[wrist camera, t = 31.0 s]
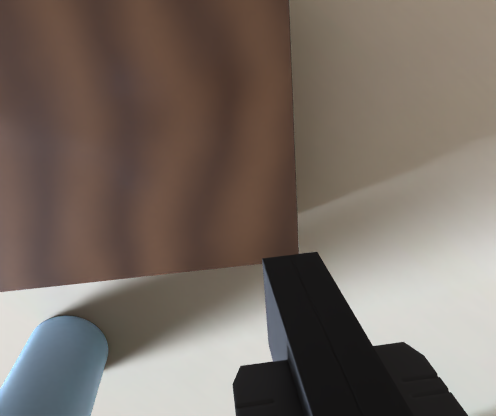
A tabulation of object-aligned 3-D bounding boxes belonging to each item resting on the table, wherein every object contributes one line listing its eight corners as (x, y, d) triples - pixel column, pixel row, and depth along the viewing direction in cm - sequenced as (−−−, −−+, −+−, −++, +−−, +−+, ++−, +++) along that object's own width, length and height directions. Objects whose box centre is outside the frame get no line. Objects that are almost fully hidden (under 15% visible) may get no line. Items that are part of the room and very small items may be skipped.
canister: (21, 375, 40) (-75, 556, 26) (32, 306, 38) (-65, 462, 24) (102, 387, 41) (52, 568, 27) (117, 322, 39) (71, 479, 25)
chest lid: (-19, 288, 30) (-25, 294, 30) (-102, 7, 25) (-111, 5, 24) (296, 254, 32) (299, 260, 31) (285, -20, 26) (288, -21, 25)
